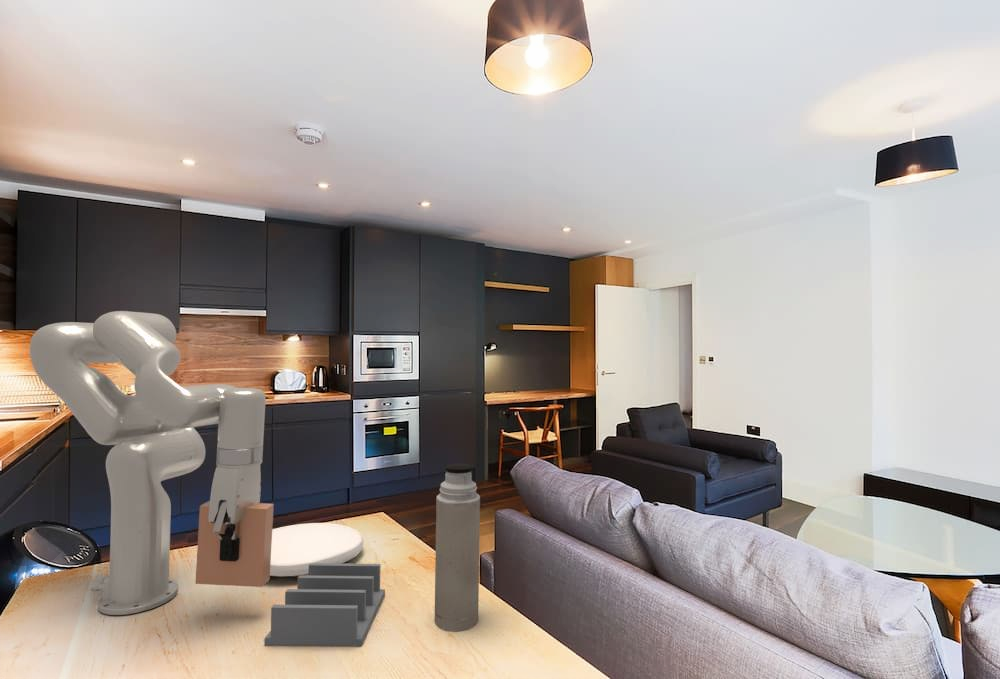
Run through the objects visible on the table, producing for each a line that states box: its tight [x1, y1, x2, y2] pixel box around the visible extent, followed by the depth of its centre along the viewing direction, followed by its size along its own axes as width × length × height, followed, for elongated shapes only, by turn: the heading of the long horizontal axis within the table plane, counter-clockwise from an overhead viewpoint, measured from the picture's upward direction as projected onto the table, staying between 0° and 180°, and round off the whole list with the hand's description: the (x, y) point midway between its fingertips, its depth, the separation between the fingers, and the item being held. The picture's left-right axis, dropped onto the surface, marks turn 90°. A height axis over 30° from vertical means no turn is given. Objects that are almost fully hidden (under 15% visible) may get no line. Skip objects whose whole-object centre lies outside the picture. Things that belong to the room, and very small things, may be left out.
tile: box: [195, 500, 275, 588], centre depth 93 cm, size 12×3×14 cm, turn 90°
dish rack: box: [263, 563, 386, 647], centre depth 92 cm, size 16×18×6 cm
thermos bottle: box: [434, 463, 481, 632], centre depth 93 cm, size 8×8×28 cm
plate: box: [270, 522, 364, 577], centre depth 118 cm, size 28×6×27 cm
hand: (234, 555), depth 93 cm, fingers closed on tile, 3 cm apart
